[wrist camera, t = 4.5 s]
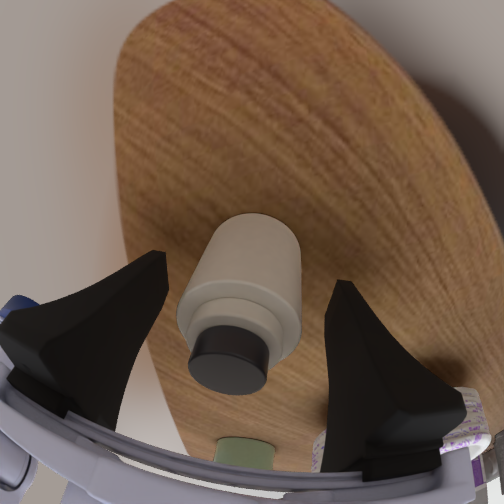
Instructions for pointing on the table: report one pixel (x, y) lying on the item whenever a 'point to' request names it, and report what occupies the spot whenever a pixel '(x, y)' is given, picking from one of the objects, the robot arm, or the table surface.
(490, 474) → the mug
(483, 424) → the paper bowls
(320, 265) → the table surface
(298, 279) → the small bottle
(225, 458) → the green jar
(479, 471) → the container
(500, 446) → the flask
